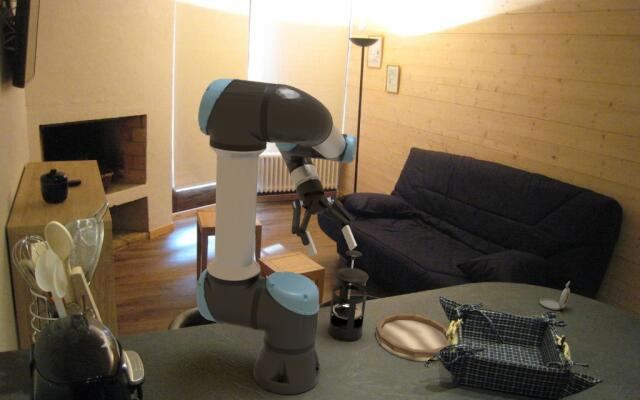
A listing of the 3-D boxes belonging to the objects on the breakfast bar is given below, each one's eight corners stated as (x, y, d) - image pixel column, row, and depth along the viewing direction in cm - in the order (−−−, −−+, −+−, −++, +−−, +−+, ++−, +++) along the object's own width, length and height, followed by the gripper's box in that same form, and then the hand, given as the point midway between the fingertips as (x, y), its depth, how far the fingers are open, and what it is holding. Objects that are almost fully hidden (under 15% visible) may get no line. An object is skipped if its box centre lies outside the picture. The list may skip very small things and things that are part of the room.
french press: (367, 342, 136) (377, 260, 130) (331, 343, 135) (340, 260, 128) (356, 320, 148) (365, 243, 141) (323, 320, 146) (331, 242, 140)
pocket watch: (536, 299, 171) (543, 271, 169) (563, 303, 170) (570, 275, 168) (543, 311, 164) (550, 282, 161) (571, 315, 163) (578, 285, 160)
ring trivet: (413, 369, 126) (415, 360, 126) (360, 331, 142) (361, 323, 141) (467, 348, 138) (469, 340, 137) (413, 315, 153) (414, 307, 153)
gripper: (335, 187, 160) (361, 250, 153) (264, 194, 146) (289, 264, 138) (348, 174, 155) (376, 239, 147) (275, 180, 140) (302, 252, 133)
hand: (334, 251), depth 143 cm, fingers open, 13 cm apart
